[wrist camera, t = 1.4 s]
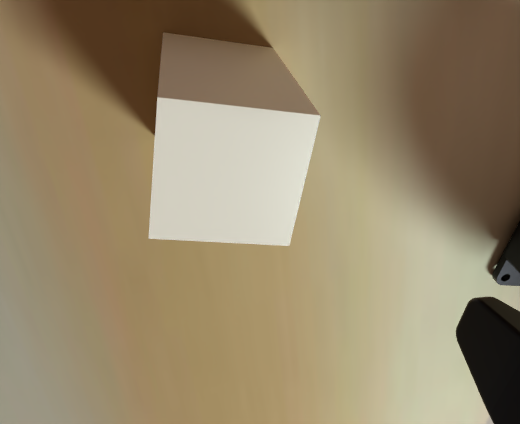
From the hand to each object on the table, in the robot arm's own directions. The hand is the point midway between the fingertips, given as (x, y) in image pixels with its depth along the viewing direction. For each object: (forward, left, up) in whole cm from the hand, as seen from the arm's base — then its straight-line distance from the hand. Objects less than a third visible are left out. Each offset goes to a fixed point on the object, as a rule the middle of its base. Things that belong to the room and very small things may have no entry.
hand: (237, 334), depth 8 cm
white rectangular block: (0, 0, -12) cm, 12 cm away
